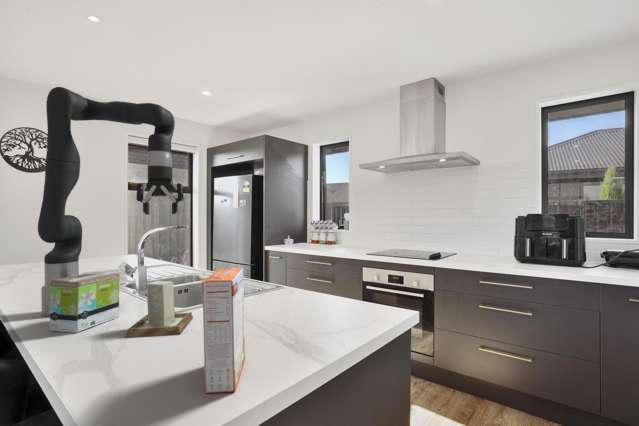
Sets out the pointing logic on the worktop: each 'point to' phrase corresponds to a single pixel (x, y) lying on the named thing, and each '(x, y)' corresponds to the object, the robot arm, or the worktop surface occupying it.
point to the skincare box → (160, 303)
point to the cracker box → (223, 329)
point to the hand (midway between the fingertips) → (160, 214)
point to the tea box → (83, 301)
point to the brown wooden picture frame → (151, 330)
